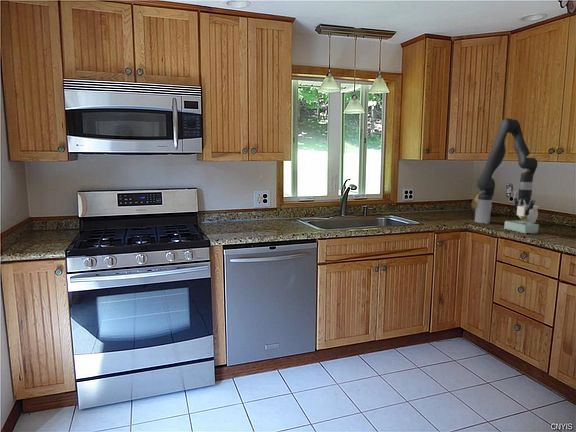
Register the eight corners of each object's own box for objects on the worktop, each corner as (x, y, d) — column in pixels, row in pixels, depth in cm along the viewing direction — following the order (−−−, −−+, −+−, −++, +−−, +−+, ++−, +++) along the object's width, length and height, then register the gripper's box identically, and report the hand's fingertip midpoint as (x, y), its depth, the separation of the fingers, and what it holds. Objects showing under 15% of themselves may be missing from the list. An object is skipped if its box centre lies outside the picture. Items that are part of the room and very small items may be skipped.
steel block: (520, 228, 270) (521, 221, 269) (526, 230, 266) (527, 222, 265) (514, 229, 269) (515, 221, 268) (520, 230, 264) (521, 223, 263)
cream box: (516, 215, 267) (517, 206, 266) (522, 214, 269) (523, 205, 268) (523, 216, 262) (524, 206, 261) (529, 215, 264) (530, 206, 263)
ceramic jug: (481, 217, 324) (484, 179, 319) (466, 214, 338) (469, 178, 334) (496, 216, 331) (500, 179, 326) (481, 213, 345) (484, 178, 340)
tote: (504, 229, 272) (504, 221, 271) (517, 228, 276) (517, 220, 275) (524, 233, 258) (525, 225, 257) (537, 232, 262) (538, 224, 261)
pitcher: (523, 221, 308) (525, 203, 306) (543, 225, 291) (545, 206, 289) (511, 221, 306) (513, 203, 303) (530, 225, 288) (533, 206, 286)
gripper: (539, 189, 257) (537, 216, 260) (520, 187, 271) (517, 213, 273) (531, 189, 255) (528, 216, 257) (511, 188, 268) (509, 213, 271)
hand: (522, 214), depth 265 cm, fingers closed on cream box, 5 cm apart
